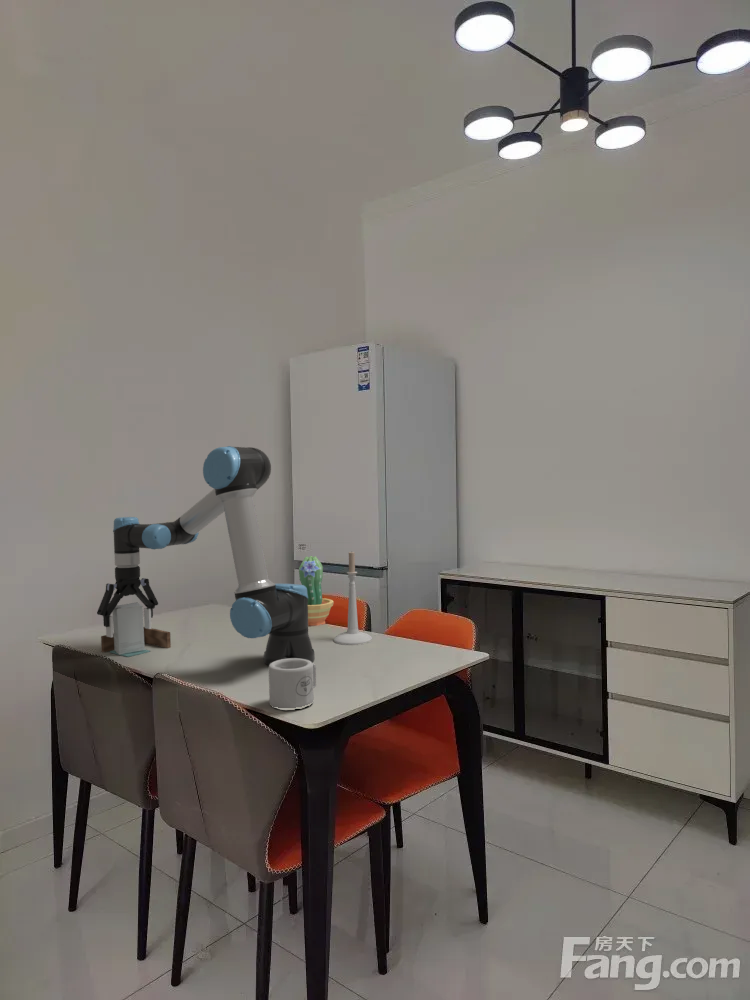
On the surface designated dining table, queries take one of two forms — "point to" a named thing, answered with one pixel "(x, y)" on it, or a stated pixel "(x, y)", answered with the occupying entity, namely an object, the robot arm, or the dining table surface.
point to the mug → (291, 682)
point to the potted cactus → (314, 590)
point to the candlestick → (352, 613)
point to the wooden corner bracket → (150, 637)
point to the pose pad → (131, 653)
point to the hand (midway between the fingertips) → (129, 632)
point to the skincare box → (128, 628)
